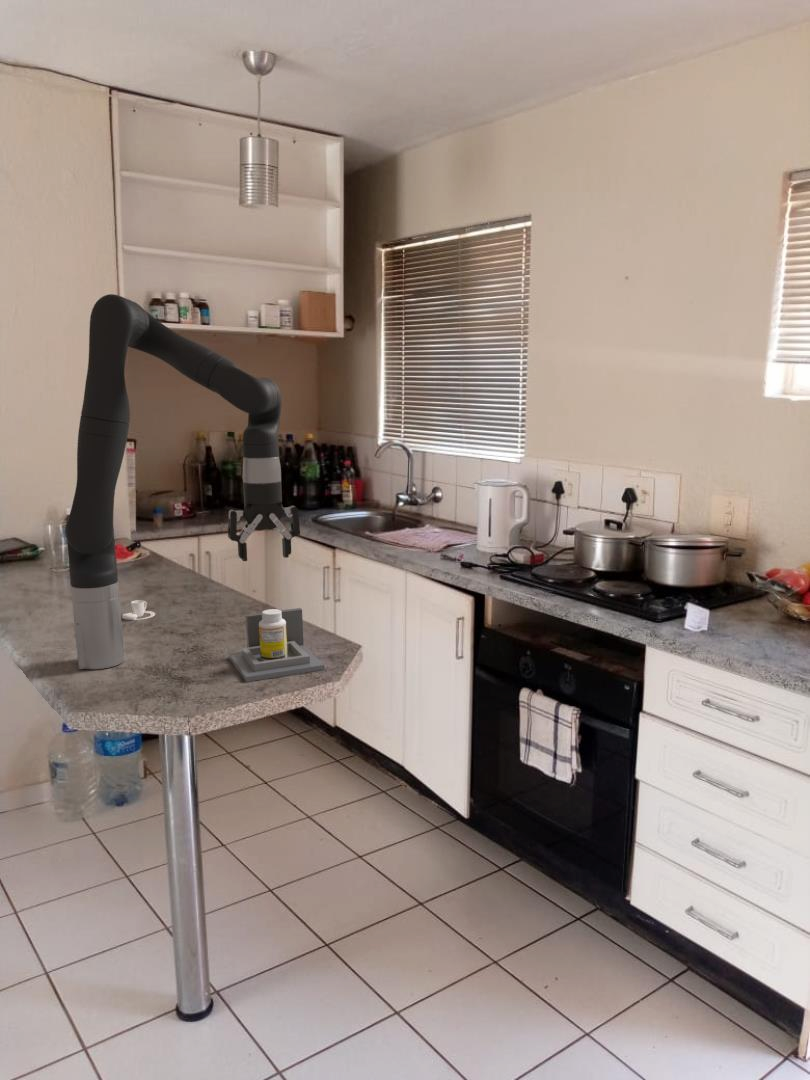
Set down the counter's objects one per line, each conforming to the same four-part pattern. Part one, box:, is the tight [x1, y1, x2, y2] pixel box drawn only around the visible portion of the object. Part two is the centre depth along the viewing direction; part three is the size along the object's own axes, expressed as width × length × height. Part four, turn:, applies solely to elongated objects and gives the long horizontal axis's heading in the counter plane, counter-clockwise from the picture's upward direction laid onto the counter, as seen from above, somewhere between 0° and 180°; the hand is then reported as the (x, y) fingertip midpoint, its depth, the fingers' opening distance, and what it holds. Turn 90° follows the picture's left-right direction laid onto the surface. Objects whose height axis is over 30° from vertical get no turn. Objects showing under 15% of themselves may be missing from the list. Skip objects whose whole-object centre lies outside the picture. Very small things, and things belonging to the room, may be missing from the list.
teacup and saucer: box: [121, 599, 156, 621], centre depth 212 cm, size 9×8×4 cm
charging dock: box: [228, 607, 325, 683], centre depth 174 cm, size 16×16×9 cm
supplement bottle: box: [259, 608, 288, 661], centre depth 173 cm, size 6×6×10 cm
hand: (265, 558), depth 171 cm, fingers open, 8 cm apart
